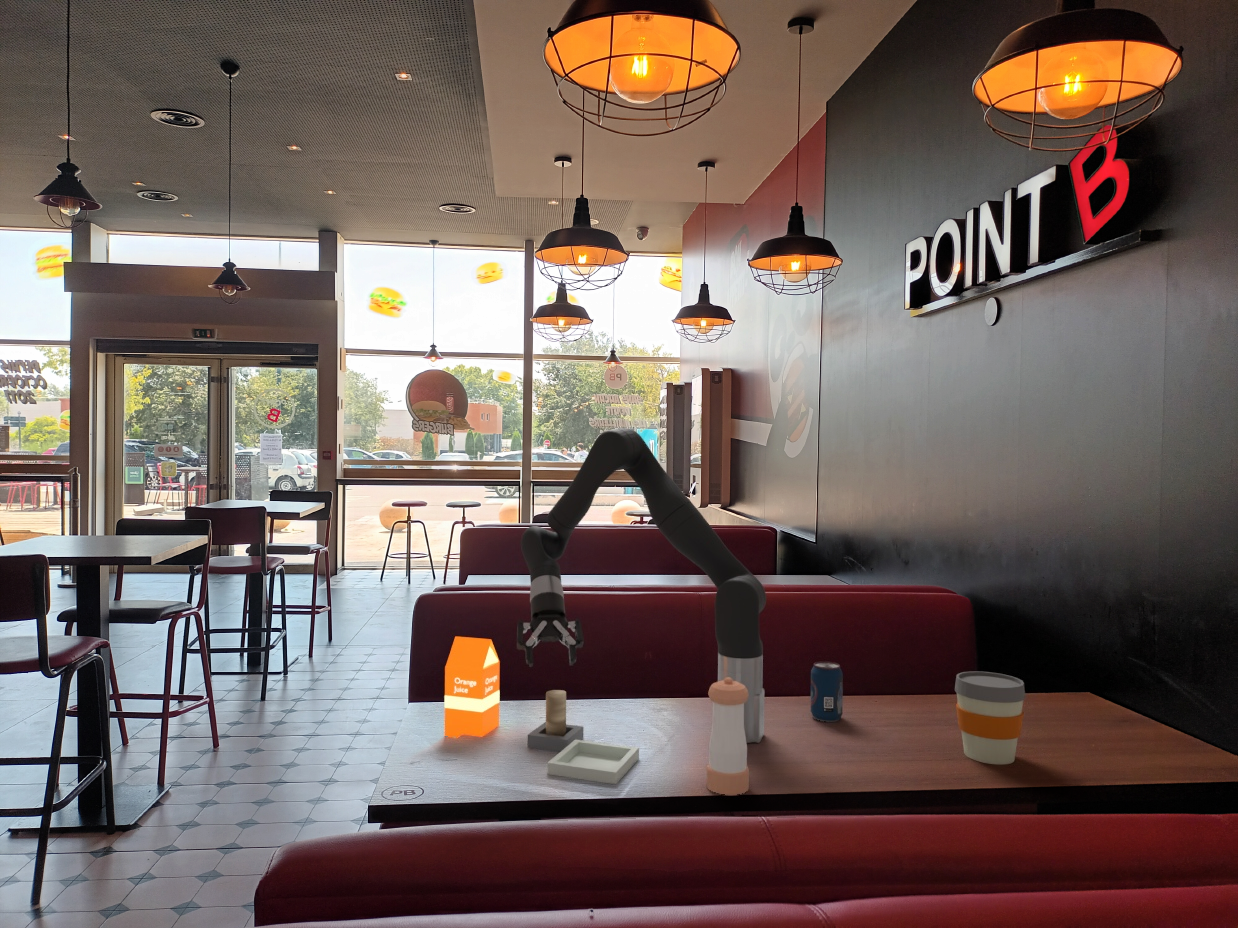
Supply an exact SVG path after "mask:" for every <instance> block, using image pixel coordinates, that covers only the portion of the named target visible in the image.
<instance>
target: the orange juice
mask: <svg viewBox="0 0 1238 928" xmlns="http://www.w3.org/2000/svg"><path fill="white" fill-rule="evenodd" d="M500 663H501V661H500V659H499V657H498V653H497V650H496V649H495V646H494V644H493V641H492V639H491V638H490V639H489V638H481V637H480V638H478V637H468V636H467V637H466V636H455V637H454V640H453V643H452V645H451V649H450V653H449V655H448V658H447V661H446V664H445V666H444V737H445V736H448V737H447V738H451V737H456V738H455V739H458V738H459V737H461V736H463V735H465V736H472V737H473V736H474V737H481V738H483V737H484V736H486V735H487V734H488V733H490V732H492V731H494V730H495V729H496V728H498V727H499V726H500V698H501V697H500V695H501V694H500V668H501V667H500V666H501V665H500Z"/></svg>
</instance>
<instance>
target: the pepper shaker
mask: <svg viewBox="0 0 1238 928" xmlns="http://www.w3.org/2000/svg"><path fill="white" fill-rule="evenodd" d="M707 694H708V697H709V700H710V701H711V702H712V721H711V723H712V724H711V731H710V737H709V744H708V762H709V763H708V764H707V765H706V788H707V789H708V790H709V791H710V790H711V791H710V792H712V791H713V792H712V793H714V792H716V793H715V794H717V793H720V794H719V795H721V794H725V795H724V796H738V795H737V794H740V795H743V794H745V792H746V791H747V792H748V791H749V788H750V787H749V785H750V783H749V778H750V776H749V774H750V773H749V772H750V769H749V767H748V765H747V762H748V761H747V760H748V759H747V757H748V745H747V744H748V743H746V737H745V730H744V703H745V702H746V701H747V699H748V695H749V693H748V690H747V688H746V687H745V686H744V685H743V684H741V683H739V682H736V681H733V679H732V678H730V677H727V678H725V679H724V680H722V681H718V680H717V681H716V682H713V683H711V685H710V686H709V690H708V693H707ZM747 792H746V793H747ZM742 793H743V794H742Z"/></svg>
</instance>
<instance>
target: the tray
mask: <svg viewBox="0 0 1238 928" xmlns="http://www.w3.org/2000/svg"><path fill="white" fill-rule="evenodd" d="M639 759H640V747H636V746H630V745H629V746H628V745H620V744H615V743H614V744H613V743H612V744H611V743H605V742H600V741H599V742H597V741H589V740H584V739H583V740H576V739H575V740H574V741H573V742H572V743H570V744H569V745H568V746H567V747H566V748H564V749H563V750H562V751H561V752H557V754H556V755H555V756H554V757H552V758H551V759H550V760H548V762H547V767H546V769H547V771H546V773H547V775H552V776H558V777H563V778H570V779H577V780H583V781H584V780H585V781H591V782H599V783H602V784H603V783H604V784H611V785H617V784H618V783H619V781H620V780H621V779H622V778H623V777H624V776H625V775H626V774H627V772H629V771H630V769H631V768H632V767H633V766H634V765H635V763H636V762H637V761H638V760H639Z"/></svg>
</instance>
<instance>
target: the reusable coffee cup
mask: <svg viewBox="0 0 1238 928" xmlns="http://www.w3.org/2000/svg"><path fill="white" fill-rule="evenodd" d="M955 677H956V678H955V684H954V691H955V693H956V696H957V697H956V699H957V703H956V704H955V707H956V709H955V710H956V716H957V723H958V728H959V729H960V731H961V737H962V738H961V739H962V746H963V752H964V755H965V757H968V758H969V759H971V760H974V761H977V762H980V763H984V764H991V765H1009V764H1012V763H1014V762H1015V759H1016V753H1017V752H1016V751H1017V744H1018V739H1019V737H1021V735H1022V728H1023V720H1024V713H1025V712H1024V711H1023V704H1024V700H1026V690H1025V682H1024V680H1022V679H1020V678H1018V677H1015V676H1012V675H1007V674H1003V673H997V672H990V671H979V670H978V671H974V670H973V671H963V672H960V673H959V672H958V673H957V674H956V676H955Z"/></svg>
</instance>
